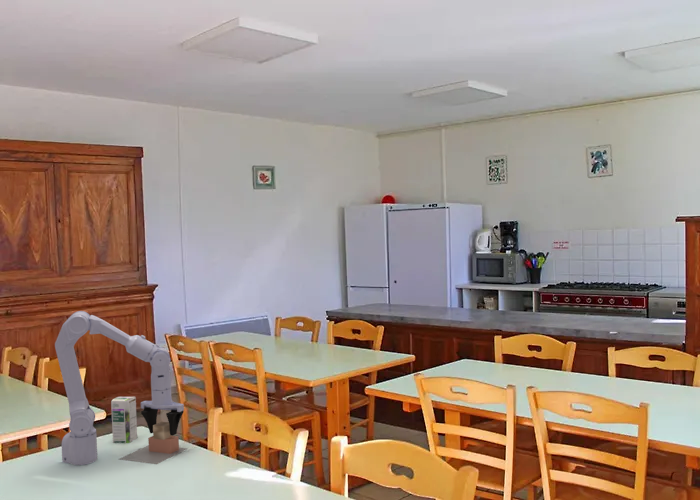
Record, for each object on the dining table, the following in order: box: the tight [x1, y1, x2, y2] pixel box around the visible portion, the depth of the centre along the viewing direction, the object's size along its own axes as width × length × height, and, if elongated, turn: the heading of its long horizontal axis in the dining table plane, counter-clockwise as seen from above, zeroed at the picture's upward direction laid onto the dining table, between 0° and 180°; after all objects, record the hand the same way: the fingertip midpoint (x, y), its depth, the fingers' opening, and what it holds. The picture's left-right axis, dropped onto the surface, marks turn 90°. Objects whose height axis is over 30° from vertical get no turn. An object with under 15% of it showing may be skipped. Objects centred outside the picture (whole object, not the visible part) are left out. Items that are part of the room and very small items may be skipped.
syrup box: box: [110, 396, 138, 444], centre depth 210 cm, size 6×6×14 cm
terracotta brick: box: [147, 435, 180, 454], centre depth 198 cm, size 8×4×4 cm, turn 67°
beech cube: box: [152, 421, 172, 440], centre depth 198 cm, size 4×4×4 cm
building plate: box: [119, 444, 187, 465], centre depth 196 cm, size 14×14×1 cm
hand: (163, 433), depth 198 cm, fingers open, 7 cm apart
